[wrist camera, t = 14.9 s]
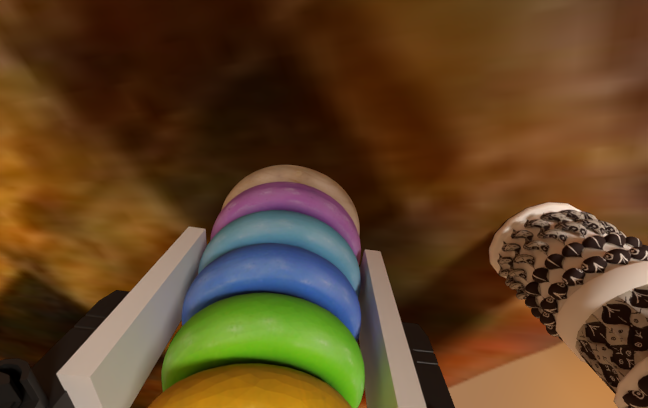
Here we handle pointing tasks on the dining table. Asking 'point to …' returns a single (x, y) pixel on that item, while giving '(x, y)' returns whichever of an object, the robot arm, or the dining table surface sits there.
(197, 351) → the stacking toy
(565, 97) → the dining table surface
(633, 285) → the decorative candle
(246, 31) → the dining table surface
